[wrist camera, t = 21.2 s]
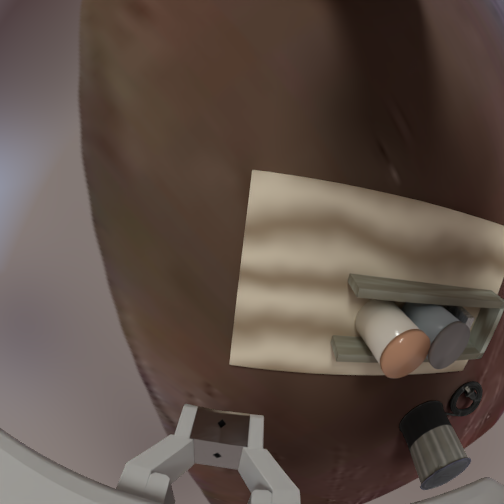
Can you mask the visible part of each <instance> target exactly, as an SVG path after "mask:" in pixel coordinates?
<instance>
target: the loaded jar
mask: <svg viewBox="0 0 504 504" xmlns="http://www.w3.org/2000/svg"><path fill="white" fill-rule="evenodd" d="M401 310H402V311H403V312H404V313H405V314H406V315H407V316H408V317H409V318H410V319H411V320H412V322H413V323H414V324H415V325H416V326H417V327H418V328H419V329H420V330H422V331H423V332H424V333H425V334H426V335H427V336H428V337H429V339H430V348H429V351H428V355H427V356H426V358H427V359H428V362H429V363H430V364H431V365H432V367H433V368H435V369H443V368H446V367H448V366H449V365H451V364H452V363H453V362H454V361H456V360H457V359H458V358H459V356H460V355H461V354H462V353H463V351H464V349H465V348H466V346H467V344H468V341H469V338H470V329H469V327H468V326H467V325H466V324H465V323H463V322H462V321H459V320H458V319H457V318H456V317H455V316H453V315H452V314H451V313H450V312H448V311H447V310H446V309H445V308H443V307H442V306H441V305H436V304H423V303H411V302H406V303H405V304H404V306H403V307H402V309H401Z"/></svg>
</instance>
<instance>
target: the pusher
mask: <svg viewBox="0 0 504 504" xmlns="http://www.w3.org/2000/svg"><path fill="white" fill-rule="evenodd" d="M441 306H442V307H443V308H445V309H446V310H447V311H448V312H450V313H451V314H452V315H453V316H455V317H456V318H457V319H458V320H459V321H462V322H463V323H465V324H466V325H467V326H468V327H469V329H470V328H471V326H472V323H473V321H474V319H475V318H474V317H473V316H472V315H471V314H470V313H469V312H468V311H467V310H465V309H464V308H463V307H462V306H450V305H441ZM453 363H454V362H453Z"/></svg>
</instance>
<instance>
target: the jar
mask: <svg viewBox="0 0 504 504" xmlns="http://www.w3.org/2000/svg"><path fill="white" fill-rule="evenodd" d="M355 325H356V329H357V331H358V332H359V334H360V335H361V337H362V339H363V340H364V342H365V343H366V345H367V346H368V348H369V349H370V351H371V352H372V354H373V355H374V357H375V358H376V360H377V361H378V363H379V365H380V367H381V369H382V371H383V373H384V374H385V375H386V376H387V377H389V378H401V377H404V376H406V375H408V374H410V373H411V372H413V371H414V370H415V369H417V368H418V367H419V366H420V365H421V364H422V362H423V361H424V360H425V358H426V356H427V355H428V351H429V348H430V339H429V337H428V336H427V335H426V334H425V333H424V332H423V331H422V330H420V329H419V328H418V327H417V326H416V325H415V324H414V323H413V322H412V320H411V319H410V318H409V317H408V316H407V315H406V314H405V313H404V312H403V311H402V310H401V309H400V308H399V307H398V306H397V305H396V304H395V303H394V302H393V301H389V300H378V299H372V300H370V301H369V302H367V303H366V304H365V305H364V306H363V307H362V308H361V310H360V311H359V313H358V315H357V317H356V323H355Z"/></svg>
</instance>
